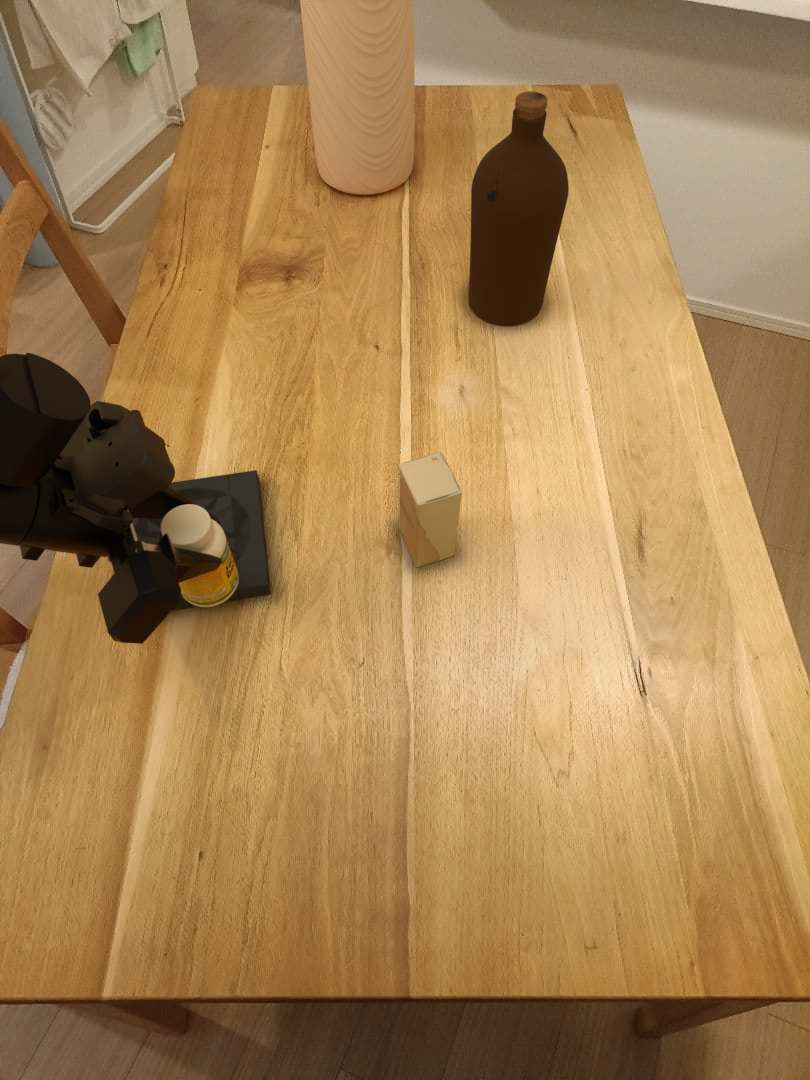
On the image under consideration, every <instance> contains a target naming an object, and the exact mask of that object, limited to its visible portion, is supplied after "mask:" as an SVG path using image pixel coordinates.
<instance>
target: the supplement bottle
mask: <svg viewBox="0 0 810 1080" xmlns="http://www.w3.org/2000/svg"><path fill="white" fill-rule="evenodd" d="M161 533H162V536H164V534H165V533H167V534H168V536H169V538H170V540H171V542H172V544H173V546H174V547H176V548H181V549H186V550H191V551H196V552H200V553H205V554H209V555H212V556H215V557H218V558H221V560H222V564H221V565H220V566H219V567H218V568H217V569H216V570H214V571H211V572H208V573H206V574H203V575H200V576H197V577H194V578H192V579H189V580H186V581H183V582H180V583H179V585H180V588H181V594H182V596H183V597H184V598H185V599H186V600H187V601H188V602H190V603H191V604H193V605H196V607H201V608H212V607H216V606H218V605H221V604H223V603H225V601H226V600H227V599H228V598H229V597H230V596H231V595H232V594H233V593H234V591H235V590H236V587H237V585H238V580H239V579H238V572H237V568H236V565H235V562H234V559H233V556H232V553H231V551H230V548H229V545H228V542H227V539H226V536H225V533H224V531H223V529H222V527H221V526H220V525H219V524H218V523H217V522H216V521H214V520H212V519H211V518H210V516H209V514H208V512H207V511H206V510H205V509H204V508H202V507H200V506H198V505H193V504H186V505H181V506H178V507H175V508H173V509H172V510H170V511H169V512H168V513H167V514H166V515H165V517H164V518H163V520H162V523H161Z"/></svg>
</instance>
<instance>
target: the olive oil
mask: <svg viewBox="0 0 810 1080" xmlns="http://www.w3.org/2000/svg"><path fill="white" fill-rule="evenodd" d="M547 107H548V98H547V96H546V95H545V94H543V93H541V92H538V91H534V90H530V91H529V90H527V91H523V92H520V93H519V94H517V95H516V97H515V101H514V109H513V110H512V117H511V118H512V119H511V131H510V133H509V134H508V135H507V136H506V137H504V138H503V139H502V140H500V141H499V142H498V143H496V144H495V145H494V146H493V147H492V148H491V149H489V150H488V151H487V152H486V153H485V154H484V155H483V157H482V158H481V159H480V161H479V163H478V166H477V167H476V170H475V172H474V175H473V178H472V183H471V188H470V189H471V190H470V192H471V193H470V240H469V241H470V244H469V273H468V275H469V276H468V296H467V297H468V304H469V307H470V309H471V310H472V312H473V313H474V314H475V315H476V316H477V317H478V318H480V319H481V320H483V321H486V322H487V323H490V324H492V325H497V326H503V327H504V326H506V327H507V326H508V327H509V326H510V327H511V326H518V325H522V324H525V323H528V322H529V321H531V320H533V319H534V318H536V317H537V316H538V315H539V313H540V312H541V310H542V308H543V304H544V299H545V295H546V290H547V286H548V282H549V277H550V273H551V268H552V264H553V259H554V255H555V252H556V246H557V244H558V238H559V235H560V230H561V228H562V227H561V226H562V224H563V219H564V215H565V210H566V207H567V203H568V197H569V192H570V191H569V190H570V187H569V177H568V171H567V167H566V165H565V163H564V161H563V159H562V157H561V156H560V155H559V153H558V152H557V151H556V150H555V149H554V147H553V145H552V144H550V142H549V141H548V140H547V139H546V137H545V136H544V131H545V126H546V120H547V116H548V115H547V111H546V109H547Z"/></svg>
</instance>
